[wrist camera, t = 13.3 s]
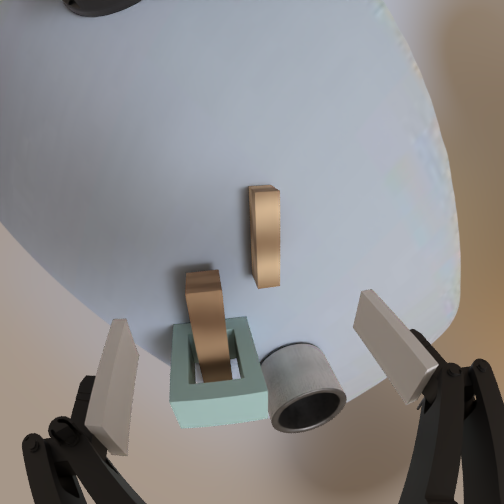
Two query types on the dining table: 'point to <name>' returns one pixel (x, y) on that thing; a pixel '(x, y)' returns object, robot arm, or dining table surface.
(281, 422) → the planter
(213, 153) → the dining table surface
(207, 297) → the brown wooden long bar
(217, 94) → the dining table surface
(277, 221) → the rail
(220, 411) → the green rectangular frame
